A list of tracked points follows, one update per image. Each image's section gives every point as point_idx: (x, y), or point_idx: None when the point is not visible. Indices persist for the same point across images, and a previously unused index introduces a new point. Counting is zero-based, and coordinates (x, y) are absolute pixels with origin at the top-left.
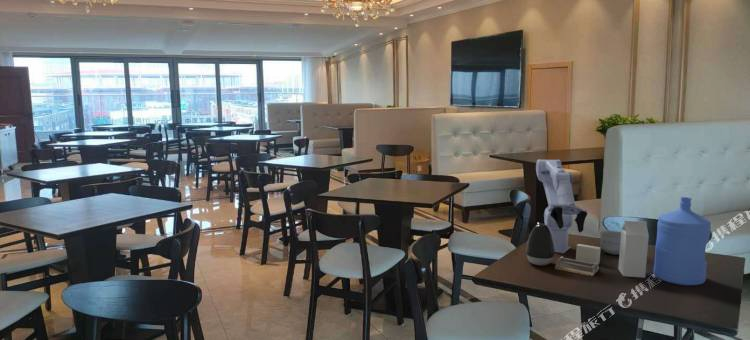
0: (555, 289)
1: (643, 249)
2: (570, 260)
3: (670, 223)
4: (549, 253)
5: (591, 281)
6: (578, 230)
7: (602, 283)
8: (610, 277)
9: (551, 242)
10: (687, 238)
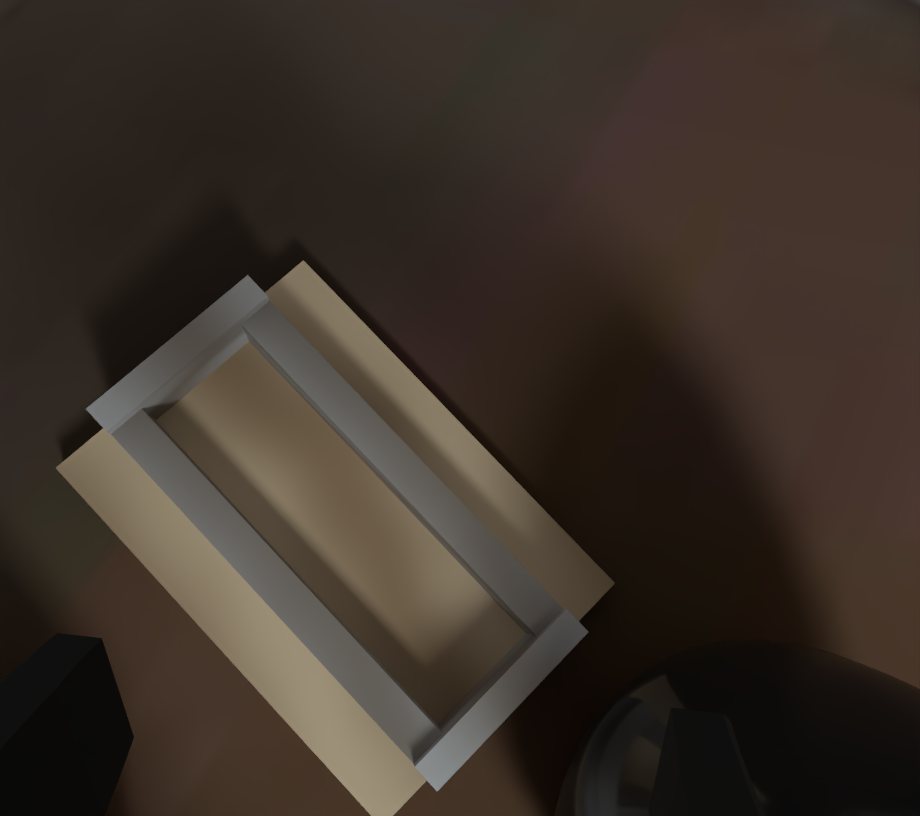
0: (865, 46)
1: None
2: (363, 648)
3: None
4: (733, 650)
5: (411, 142)
6: (108, 795)
7: (333, 72)
8: (125, 199)
9: (754, 729)
10: None
